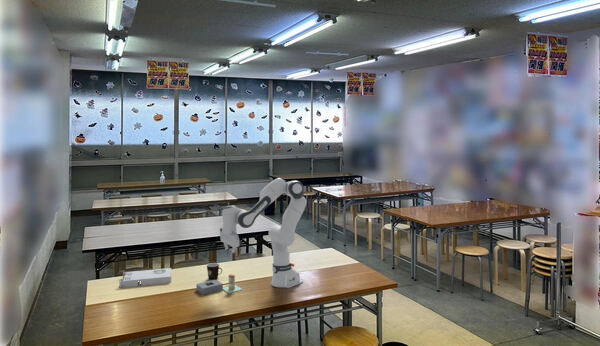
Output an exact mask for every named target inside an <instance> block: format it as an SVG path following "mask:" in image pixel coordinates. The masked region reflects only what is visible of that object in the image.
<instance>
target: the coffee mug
mask: <svg viewBox="0 0 600 346" xmlns="http://www.w3.org/2000/svg"><path fill="white" fill-rule="evenodd" d="M206 269H207V278H208V281H212V280H218V278H219V275H221V274H222V273H223V269H222V268H221V267H220V263H219V262H211V263H207V264H206ZM219 270H221V272H219Z"/></svg>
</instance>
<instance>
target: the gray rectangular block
mask: <svg viewBox="0 0 600 346" xmlns="http://www.w3.org/2000/svg"><path fill="white" fill-rule="evenodd" d="M195 286H196V291H198V293H200V294H201V295H207V294H211V292H212V293H215V292H219V291H224V290H223V288H224V284H223V283H222V282H221V281H219V280H218V279H216V280H207V281H203V282H200V283H196V285H195Z"/></svg>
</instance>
